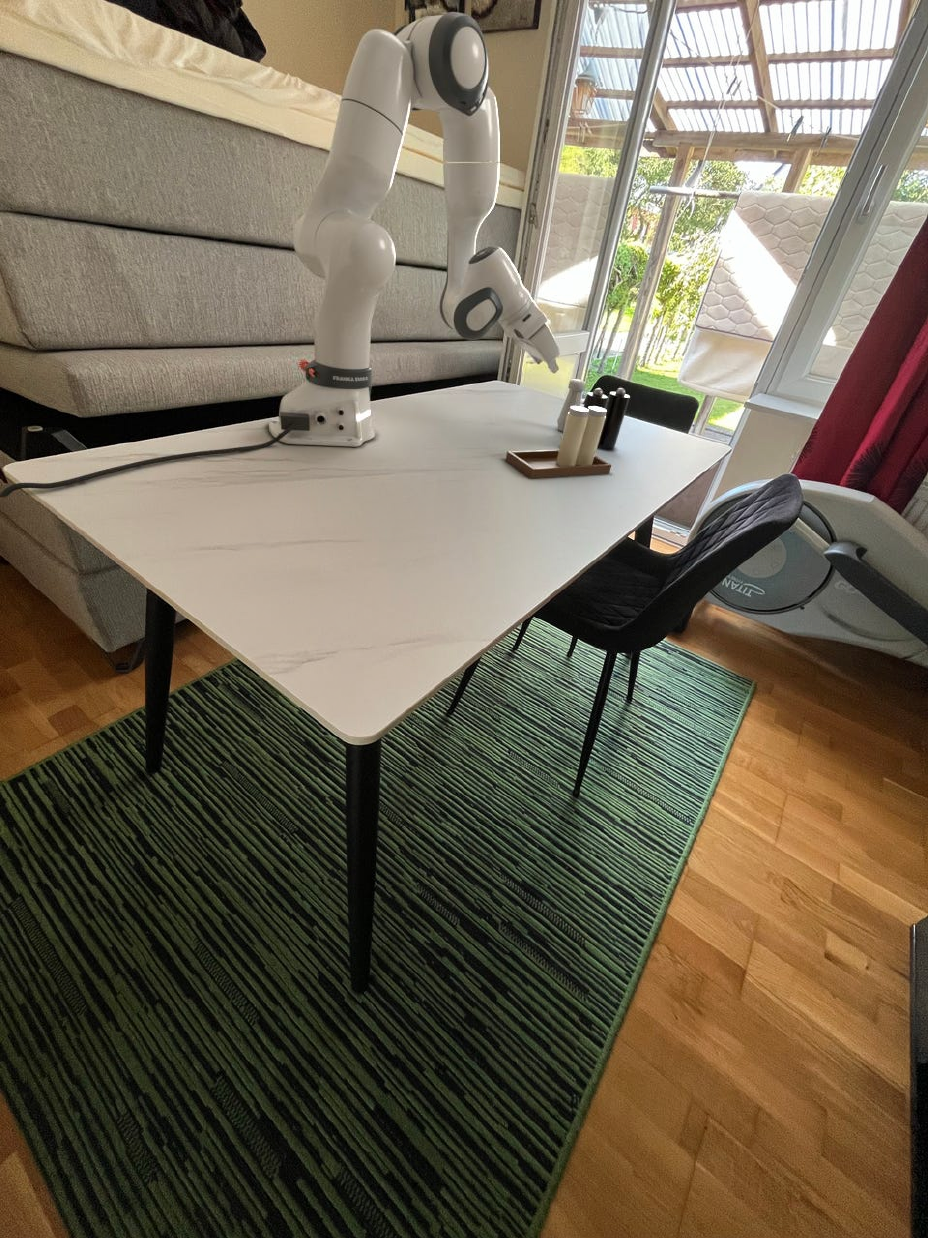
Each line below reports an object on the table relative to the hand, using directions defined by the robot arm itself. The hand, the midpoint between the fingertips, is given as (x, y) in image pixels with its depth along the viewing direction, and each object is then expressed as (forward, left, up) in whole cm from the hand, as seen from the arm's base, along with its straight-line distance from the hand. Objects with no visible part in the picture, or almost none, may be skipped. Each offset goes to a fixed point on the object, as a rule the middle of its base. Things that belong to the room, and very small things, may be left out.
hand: (547, 366), depth 130 cm
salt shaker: (+9, -2, -16) cm, 18 cm away
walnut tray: (-11, -26, -15) cm, 32 cm away
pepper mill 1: (+4, -16, -15) cm, 23 cm away
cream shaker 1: (-9, -26, -15) cm, 31 cm away
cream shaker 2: (-4, -26, -15) cm, 30 cm away
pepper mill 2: (+12, -15, -15) cm, 25 cm away
